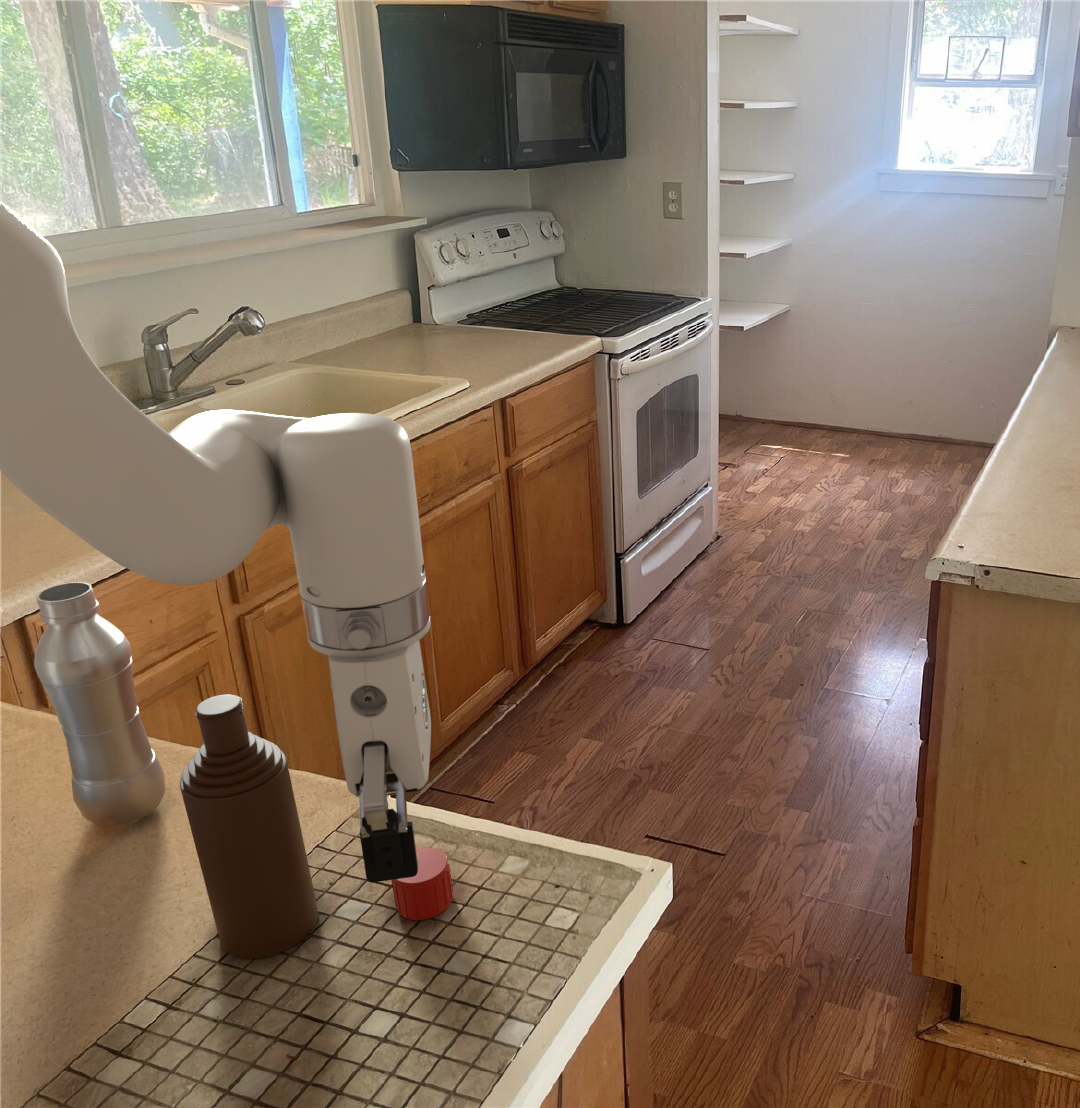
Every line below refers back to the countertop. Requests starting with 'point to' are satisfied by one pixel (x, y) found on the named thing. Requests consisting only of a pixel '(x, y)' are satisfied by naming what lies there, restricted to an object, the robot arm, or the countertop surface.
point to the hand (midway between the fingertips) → (397, 831)
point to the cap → (425, 887)
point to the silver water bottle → (96, 708)
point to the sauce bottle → (247, 835)
